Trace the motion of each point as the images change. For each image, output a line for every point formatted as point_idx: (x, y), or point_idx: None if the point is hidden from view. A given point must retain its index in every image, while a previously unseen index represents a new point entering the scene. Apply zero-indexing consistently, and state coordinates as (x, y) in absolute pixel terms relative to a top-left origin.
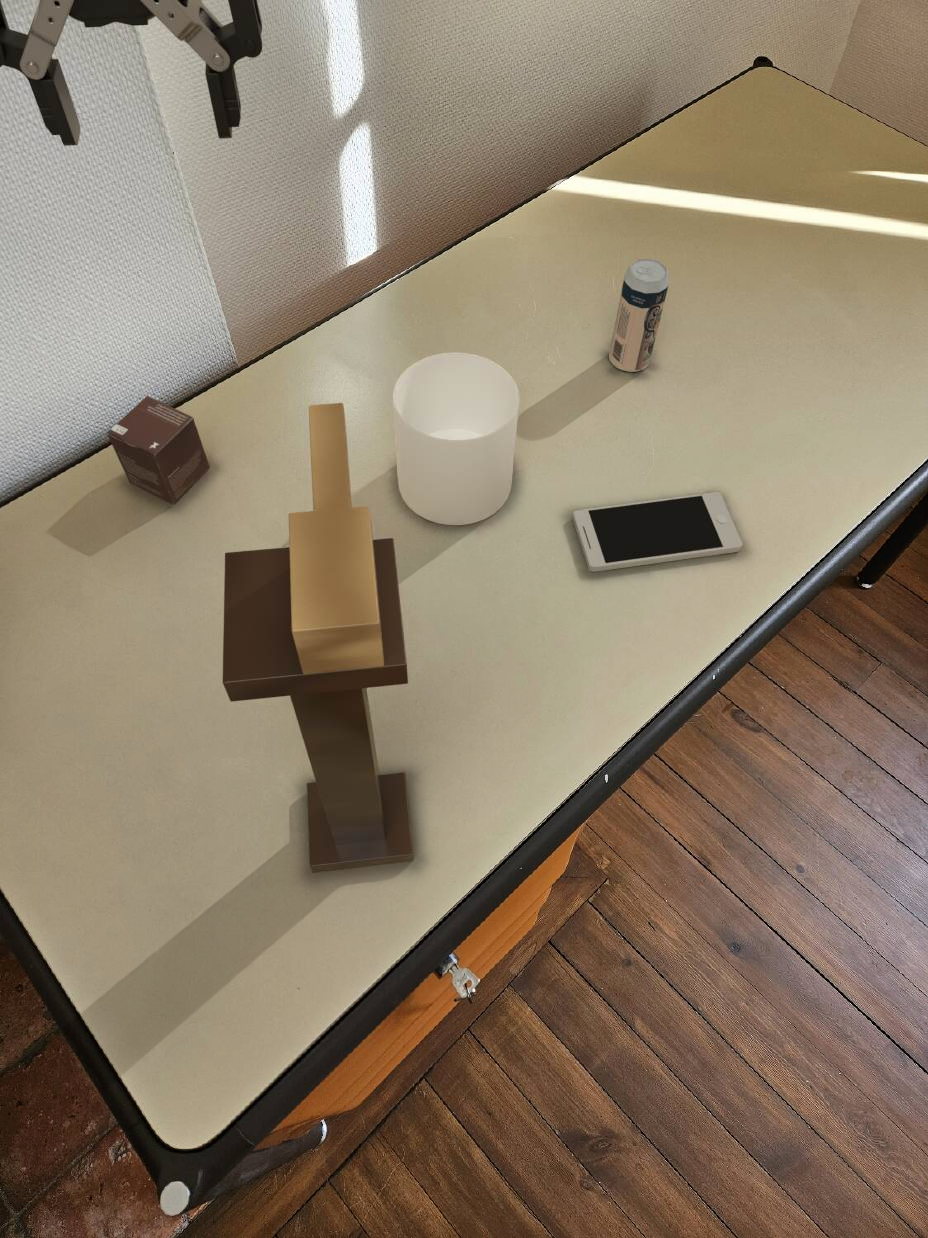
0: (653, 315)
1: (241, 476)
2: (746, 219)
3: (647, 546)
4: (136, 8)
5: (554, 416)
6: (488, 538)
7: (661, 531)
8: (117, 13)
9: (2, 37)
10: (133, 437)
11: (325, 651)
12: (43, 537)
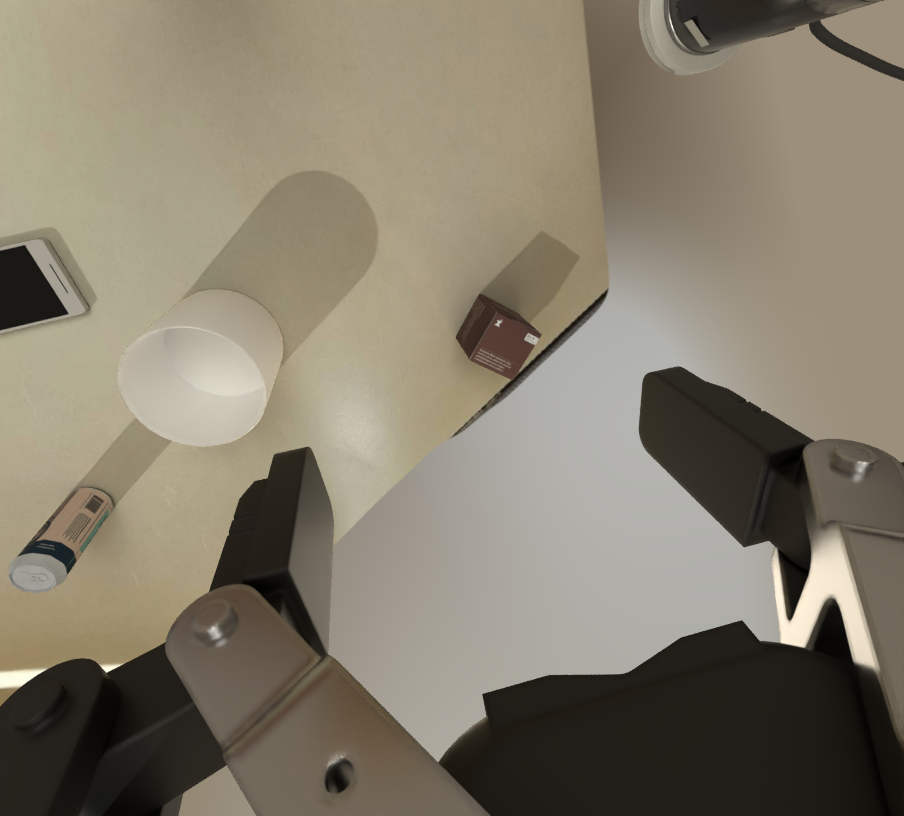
0: (35, 535)
1: (427, 330)
2: (26, 666)
3: None
4: (537, 764)
5: None
6: (173, 276)
7: None
8: (626, 713)
9: None
10: (518, 330)
11: None
12: (580, 250)
